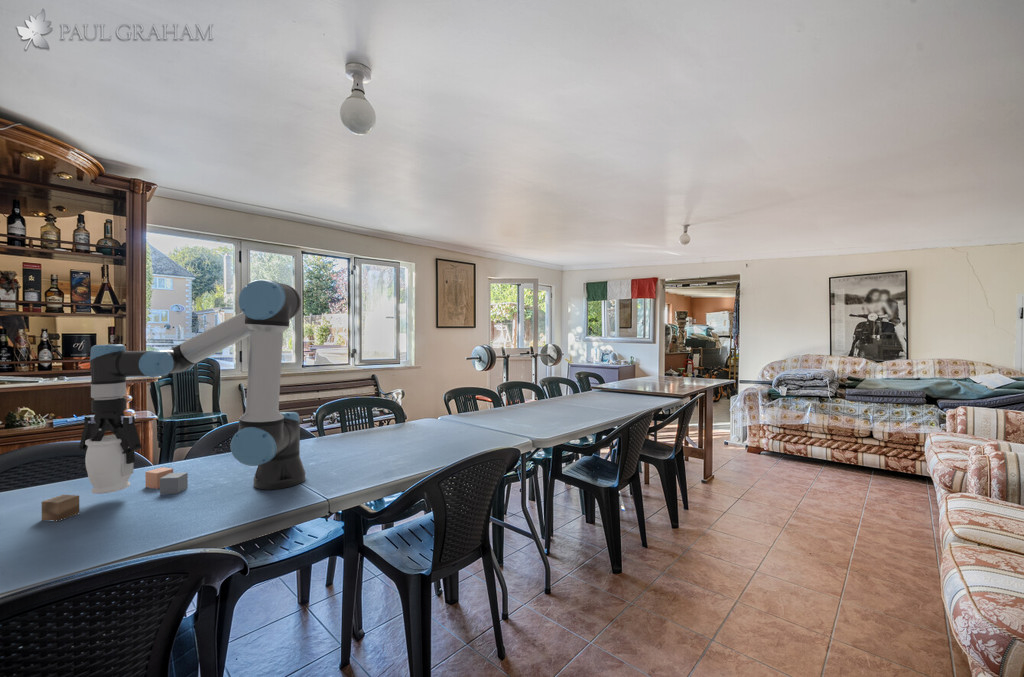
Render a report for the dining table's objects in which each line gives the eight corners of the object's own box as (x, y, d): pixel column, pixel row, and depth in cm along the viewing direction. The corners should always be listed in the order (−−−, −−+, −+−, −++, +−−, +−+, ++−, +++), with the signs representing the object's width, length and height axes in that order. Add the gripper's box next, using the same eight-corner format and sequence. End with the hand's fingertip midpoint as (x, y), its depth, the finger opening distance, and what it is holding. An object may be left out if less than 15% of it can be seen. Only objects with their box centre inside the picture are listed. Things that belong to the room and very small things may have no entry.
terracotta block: (173, 484, 144) (173, 468, 144) (157, 489, 139) (156, 473, 139) (162, 482, 145) (161, 467, 145) (145, 487, 140) (145, 471, 140)
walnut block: (79, 513, 120) (79, 495, 120) (58, 521, 115) (58, 502, 115) (63, 512, 121) (63, 494, 120) (41, 520, 116) (41, 501, 116)
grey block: (187, 488, 140) (187, 472, 140) (178, 493, 135) (178, 477, 135) (170, 489, 139) (170, 473, 139) (160, 494, 134) (159, 478, 134)
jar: (105, 496, 122) (104, 442, 122) (76, 494, 124) (74, 441, 124) (144, 483, 133) (143, 434, 132) (116, 482, 135) (115, 432, 134)
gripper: (156, 396, 131) (158, 471, 131) (88, 395, 133) (89, 469, 133) (131, 400, 123) (133, 479, 123) (59, 399, 126) (61, 477, 126)
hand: (110, 474), depth 128 cm, fingers closed on jar, 10 cm apart
